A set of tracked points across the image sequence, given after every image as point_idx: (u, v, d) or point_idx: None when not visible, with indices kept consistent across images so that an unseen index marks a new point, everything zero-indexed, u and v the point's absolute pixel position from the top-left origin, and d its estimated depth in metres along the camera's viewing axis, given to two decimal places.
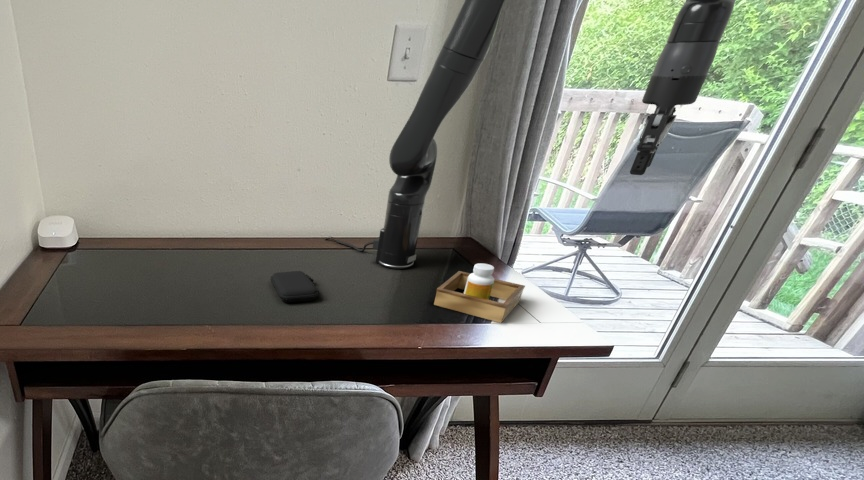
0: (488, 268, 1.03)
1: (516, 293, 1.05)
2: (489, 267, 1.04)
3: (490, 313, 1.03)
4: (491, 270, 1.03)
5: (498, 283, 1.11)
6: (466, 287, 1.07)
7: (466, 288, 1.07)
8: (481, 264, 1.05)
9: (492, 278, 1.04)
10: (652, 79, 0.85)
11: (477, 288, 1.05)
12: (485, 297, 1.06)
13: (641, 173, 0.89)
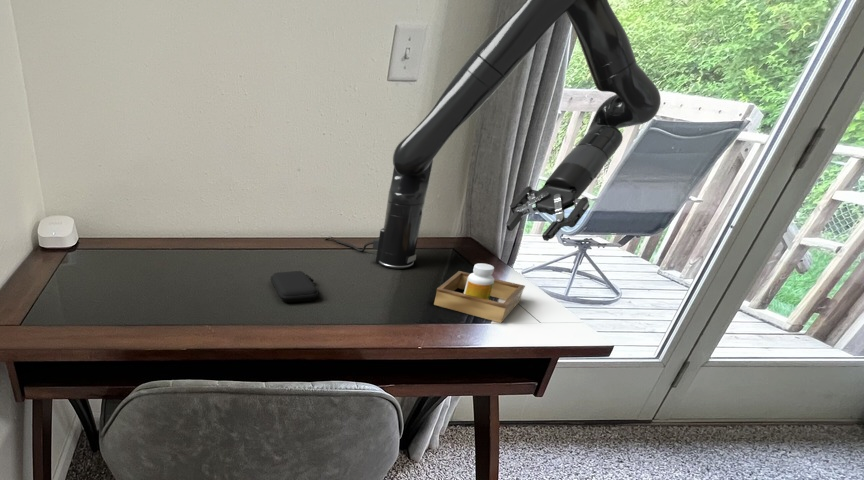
0: (488, 268, 1.03)
1: (516, 293, 1.05)
2: (489, 267, 1.04)
3: (490, 313, 1.03)
4: (491, 270, 1.03)
5: (498, 283, 1.11)
6: (466, 287, 1.07)
7: (466, 288, 1.07)
8: (481, 264, 1.05)
9: (492, 278, 1.04)
10: (578, 167, 1.01)
11: (477, 288, 1.05)
12: (485, 297, 1.06)
13: (547, 239, 1.03)
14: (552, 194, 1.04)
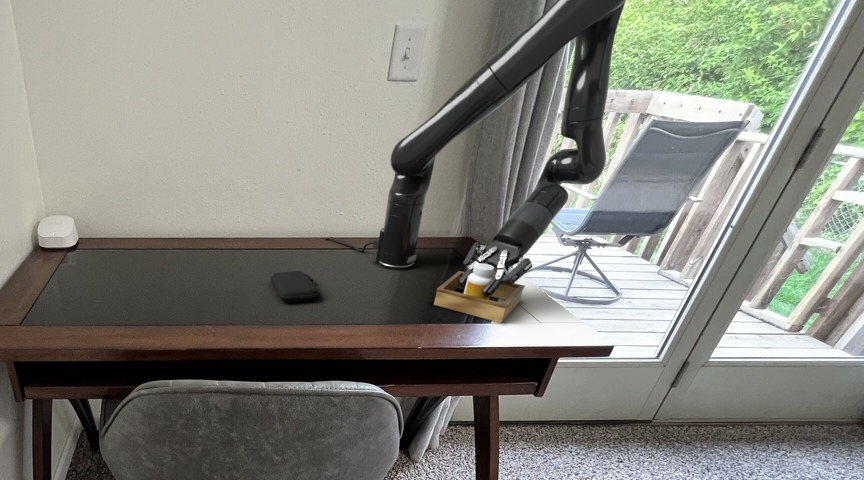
0: (488, 268, 1.03)
1: (516, 293, 1.05)
2: (489, 267, 1.04)
3: (490, 313, 1.03)
4: (491, 270, 1.03)
5: None
6: (466, 287, 1.07)
7: (466, 288, 1.07)
8: (481, 264, 1.05)
9: (492, 278, 1.04)
10: (524, 225, 1.01)
11: (477, 288, 1.05)
12: (485, 297, 1.06)
13: (487, 295, 1.04)
14: (500, 249, 1.05)
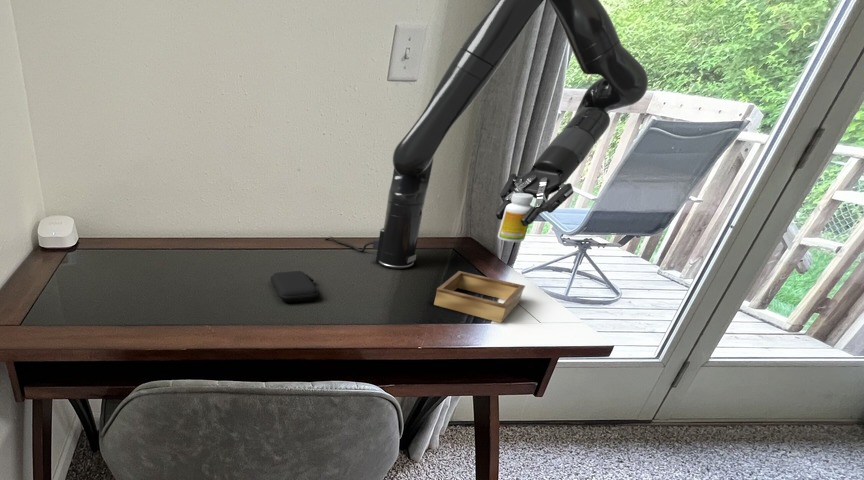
0: (527, 196, 1.01)
1: (516, 293, 1.05)
2: (528, 195, 1.02)
3: (490, 313, 1.03)
4: (530, 198, 1.01)
5: (498, 283, 1.11)
6: (503, 218, 1.05)
7: (503, 219, 1.05)
8: (519, 193, 1.04)
9: None
10: (565, 150, 0.99)
11: (516, 217, 1.03)
12: (523, 227, 1.04)
13: (526, 225, 1.03)
14: (539, 178, 1.03)
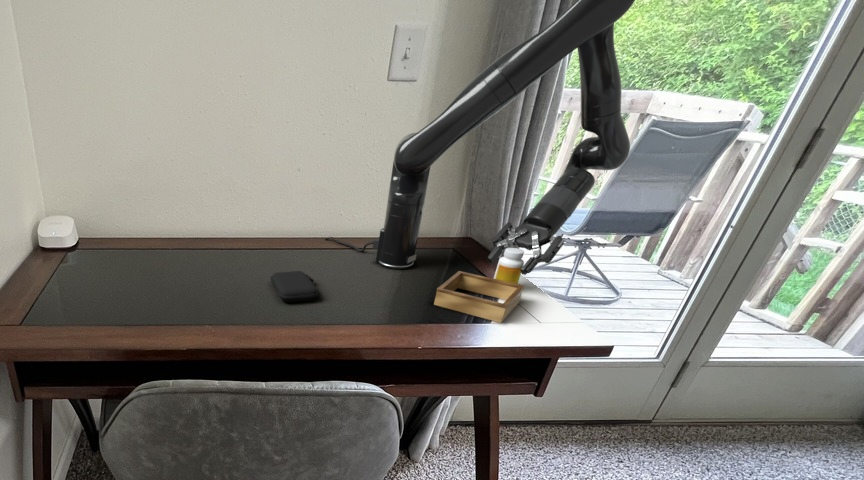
0: (518, 252, 1.11)
1: (516, 293, 1.05)
2: (519, 251, 1.12)
3: (490, 313, 1.03)
4: (521, 253, 1.11)
5: (498, 283, 1.11)
6: (497, 270, 1.15)
7: (497, 271, 1.15)
8: (511, 248, 1.13)
9: (522, 261, 1.12)
10: (554, 207, 1.09)
11: (508, 271, 1.13)
12: (515, 279, 1.13)
13: (525, 273, 1.11)
14: (530, 231, 1.12)
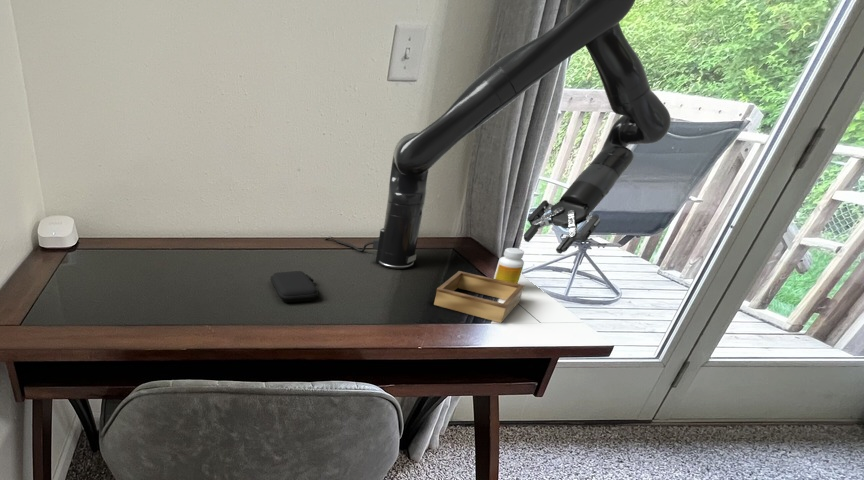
0: (518, 252, 1.11)
1: (516, 293, 1.05)
2: (519, 250, 1.12)
3: (490, 313, 1.03)
4: (521, 253, 1.11)
5: (498, 283, 1.11)
6: (497, 270, 1.15)
7: (497, 271, 1.15)
8: (511, 248, 1.13)
9: (522, 261, 1.12)
10: (591, 186, 1.11)
11: (508, 270, 1.13)
12: (515, 279, 1.13)
13: (560, 252, 1.14)
14: (567, 209, 1.15)
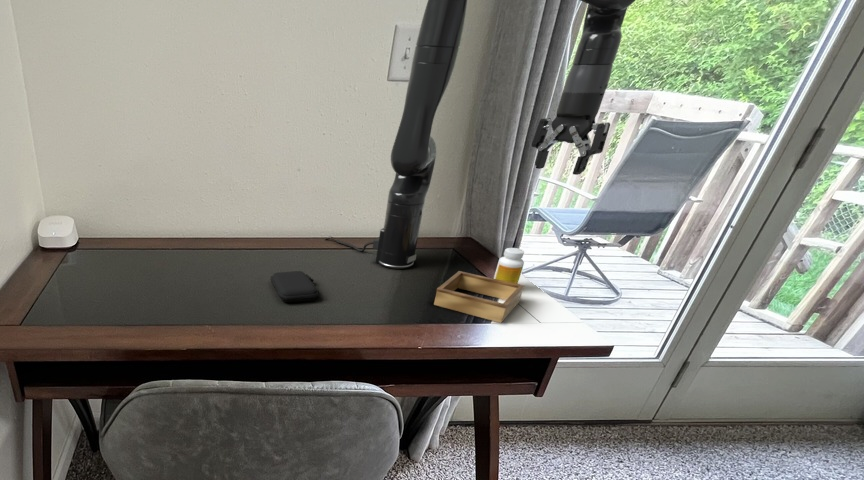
0: (518, 252, 1.11)
1: (516, 293, 1.05)
2: (519, 250, 1.12)
3: (490, 313, 1.03)
4: (521, 253, 1.11)
5: (498, 283, 1.11)
6: (497, 270, 1.15)
7: (497, 271, 1.15)
8: (511, 248, 1.13)
9: (522, 261, 1.12)
10: (582, 95, 0.98)
11: (508, 271, 1.13)
12: (515, 279, 1.13)
13: (580, 172, 1.05)
14: (568, 124, 1.03)
